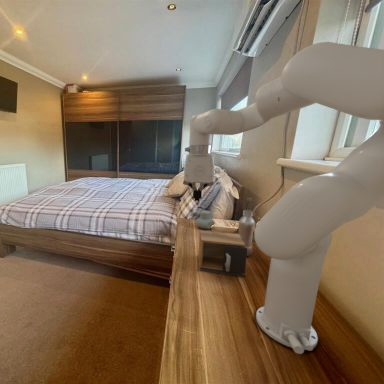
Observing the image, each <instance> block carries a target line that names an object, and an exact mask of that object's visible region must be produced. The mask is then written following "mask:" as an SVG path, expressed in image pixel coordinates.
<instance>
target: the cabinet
mask: <svg viewBox="0 0 384 384" xmlns="http://www.w3.org/2000/svg"><path fill="white" fill-rule="evenodd" d="M225 245H226V246H235V247H245V243H244V242H243V240H242V239H241V237H240V235H239V234H235V233H233V232H232V233H231V232H221V231H220V232H219V231H211V230H199V238H198V253H197V256H198V257H197V259H198V267H199V271H201V272H207V273H209V272H210V273H215V274H223V275H231V276H237V277H244V274H243V273H236V272H227V271H223V270H222V269H223V258H224V246H225Z"/></svg>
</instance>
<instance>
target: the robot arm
mask: <svg viewBox="0 0 384 384" xmlns="http://www.w3.org/2000/svg"><path fill="white" fill-rule="evenodd" d="M254 99H255V100H254V102H253V103H251V104H249V105H247V106H245V107H243V108H240V109H238V110H233V109H232V110H231V109H222V108H212V109H209V110H207V111H205V112H202V113H196V114H194V115H192V116H191V117H190V123H189V141H188V147H184V152H187V153H188V154H186V157H185V161H184V168H183V169H184V170H183V180H182V181H183V182H182V184H183V185H184V186H188V187H189V188H191V190H192V199H194V202H198V203H199V202H200V200H201V199H202V196H203V190H205V189H206V188H207V187H211V186H214V184H215V183H214V181H215V156H214V154H212V144H213V135H215V136H216V135H219V136H220V135H221V136H222V135H223V136H224V135H225V136H234V135H239V134H242V133H245V132H248V131H251V130H254V129H257V128H259V127H261V126H263V125H265V124H266V123H268V122H270V121H271V120H273V119H275V118H277V117H280V116H283V115H286V114H289V113H291V112H295V111H297V110H300V109H303V108H306V107H309V106H313V105H315V104H318V105H321V106H324V107H327V108H330V109H333V110H335V111H338V112H341V113H344V114H347V115H349V116H353V117H356V118H360V119H363V120H368V121H375V122H378V126H377V128H376V130H375V131H374V132H373V133H372V134H371V135H370V136H368V137H367V138H366V139H364V140H363V141H362V142H360V143H359V144H358V145H357V146H356V147H355V148H354V149H352V150H351V151H350V153H349V154H348V155H347V156H346V157H344V159H342V160H341V161H340V162H339V163H338V164H337V165H336V166H335V167H333V169H331V170H330V171H328V172H327V173H324V174H318V175H313V176H309V177H306V178H304V179H302V180H300V181H299V182H297V183H296V184H294V185H293V186H291V187H290V188H289V189H288V190H287V191H286V192H285V193H284V194H283V195H282V196H281V197H280V199H279V200H278V201H277V202H276V203H275V204H273V206H272V207H270V209H269V210H268V211H267V212H266V213H265V214H264V215H263V216H262V217H261V218H260V220H259V221H258V222H257V223H256V225H255V229H254V231H255V232H254V237H255V242H254V243H255V244H256V247H257V248H258V249H259V250H260V251H261V252H262V254H264V255H265V256H267V257H270V262H269V269H268V275H267V282H266V290H265V298H264V304H263V306H261V307H259V308H258V309H257V310H256V313H255V319H256V322H257V324H258V326H259V327H260V328H261V330H262V331H263V332H264V333H265V334H267V336H269V338H271V339H273V340H274V341H276V342H278V343H279V344H281V345H283V346H286V347H288V348H291V349H292V350H293V352H294V353H295V354H298V355H302V354H303V353H305V351H311V352H312V351H313V350H314V348H316V347H317V345H318V342H319V336H318V333H317V332H316V330H315V329H314V327H313V326H312V323H313V316H314V312H315V306H316V301H317V298H318V297H317V296H318V292H319V287H320V286H319V285H320V282H321V278H322V273H323V268H324V264H325V261H326V259H327V258H326V257H327V256H328V252H329V250H330V247H331V244H332V241H333V232H335V231H336V230H338V229H339V228H341V226H343V225H345V224H347V223H349V222H352V221H354V220H357V219H359V218H361V217H363V216H364V215H366V214H367V213H368V212H370V211H371V210H372V209H373V208H374V207H376V206H377V205H378V204H379V203H380V202H381V201H383V200H384V49H380V48H374V47H366V46H358V45H351V44H345V43H338V42H332V41H323V42H317V43H313V44H310V45H308V46H306V47H304V48H302V49H301V50H299V51H297V52H296V53H295V54H294V55H293V56H292V57H290V59H289V60H288V62H287V63H286V64H285V66H284V68H283V70H282V72H281V76H279V77H277V78H275V79H273V80H271V81H269V82H267V83H264V84H262V85H261V86H260V87H259V88H258V90H257V91H256V93H255V98H254ZM197 184H199V186H198V188H197Z"/></svg>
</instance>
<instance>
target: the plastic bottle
mask: <svg viewBox="0 0 384 384" xmlns="http://www.w3.org/2000/svg"><path fill="white" fill-rule="evenodd" d="M253 217H254V211H253V210H251V209H250V210H246V209H243V211H242V216H241V217H240V218H239V220H238V228H239V235H240V237H241V239H242V240H243V242H244V243H245V248H247V257H248V256H251V255H252V254H253V250H254V249H253V241H252V237H253V232H254V231H255V228H256V226H257V223H256V221H255V219H254V218H253Z"/></svg>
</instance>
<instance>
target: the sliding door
mask: <svg viewBox="0 0 384 384" xmlns="http://www.w3.org/2000/svg"><path fill="white" fill-rule="evenodd" d="M247 257H248V256H247V248H245V247H235V246H226V245H225V246H224V258H223V269H222V270H223V271H227V272H236V273H242V274H243V275H244V274H245V273H246V265H247Z"/></svg>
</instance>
